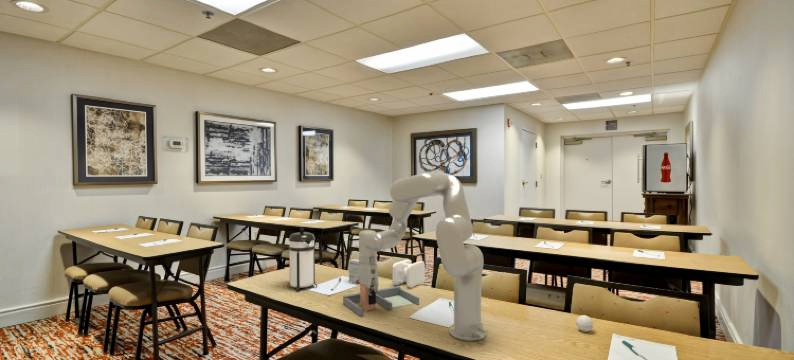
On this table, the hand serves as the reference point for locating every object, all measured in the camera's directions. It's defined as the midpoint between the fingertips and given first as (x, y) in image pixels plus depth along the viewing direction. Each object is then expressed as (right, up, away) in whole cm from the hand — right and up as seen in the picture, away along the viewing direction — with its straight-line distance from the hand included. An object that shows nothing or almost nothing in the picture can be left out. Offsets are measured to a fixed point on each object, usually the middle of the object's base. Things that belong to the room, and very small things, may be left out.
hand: (368, 301), depth 165 cm
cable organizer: (+18, -2, +34) cm, 39 cm away
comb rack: (+6, -3, +3) cm, 7 cm away
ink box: (-8, -2, +37) cm, 38 cm away
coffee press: (-36, -2, +30) cm, 47 cm away
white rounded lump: (+79, -3, -25) cm, 83 cm away
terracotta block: (0, -3, 0) cm, 3 cm away
